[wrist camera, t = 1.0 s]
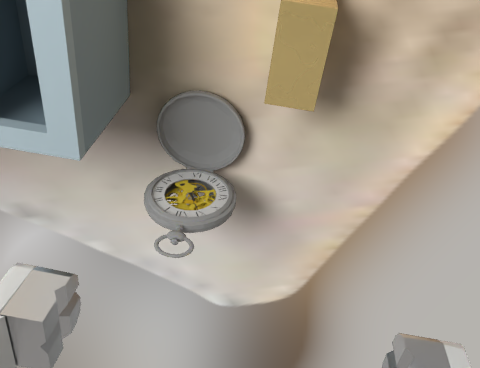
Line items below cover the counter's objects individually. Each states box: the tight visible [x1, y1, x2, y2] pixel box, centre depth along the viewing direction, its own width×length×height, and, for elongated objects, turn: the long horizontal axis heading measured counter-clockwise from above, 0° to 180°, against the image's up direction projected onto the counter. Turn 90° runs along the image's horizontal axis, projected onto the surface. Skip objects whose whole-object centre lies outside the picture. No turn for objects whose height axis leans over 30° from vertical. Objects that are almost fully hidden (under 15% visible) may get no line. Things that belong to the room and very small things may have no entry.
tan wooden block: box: [264, 0, 338, 112], centre depth 27 cm, size 6×3×5 cm, turn 173°
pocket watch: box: [144, 91, 245, 258], centre depth 31 cm, size 8×8×10 cm
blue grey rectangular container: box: [0, 0, 130, 161], centre depth 27 cm, size 11×8×9 cm
